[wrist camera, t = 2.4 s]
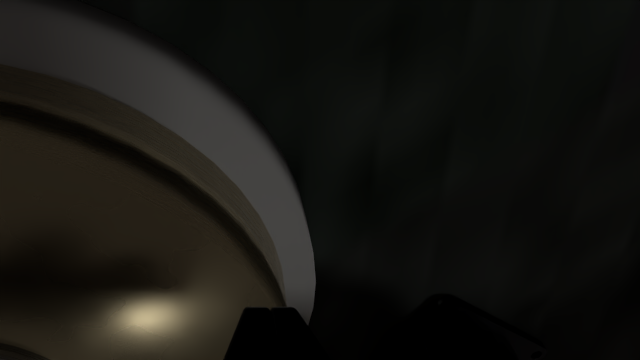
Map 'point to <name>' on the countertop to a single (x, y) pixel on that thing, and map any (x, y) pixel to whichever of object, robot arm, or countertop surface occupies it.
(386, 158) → the countertop surface
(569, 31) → the countertop surface
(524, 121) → the countertop surface
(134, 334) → the shallow round tray
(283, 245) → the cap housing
